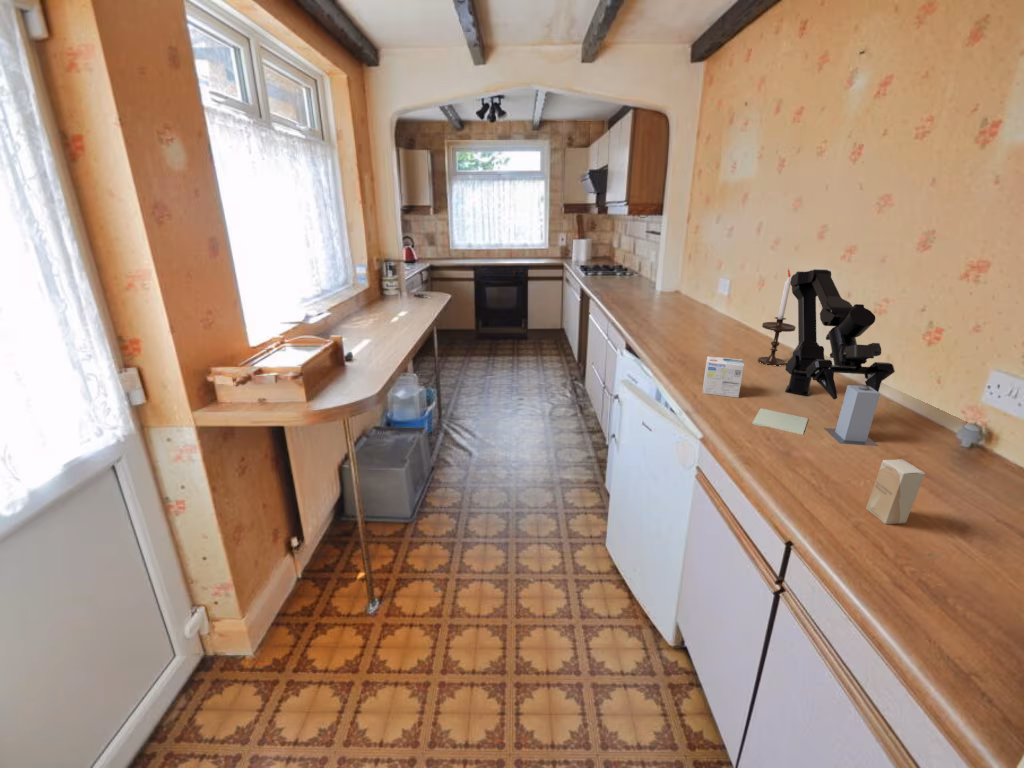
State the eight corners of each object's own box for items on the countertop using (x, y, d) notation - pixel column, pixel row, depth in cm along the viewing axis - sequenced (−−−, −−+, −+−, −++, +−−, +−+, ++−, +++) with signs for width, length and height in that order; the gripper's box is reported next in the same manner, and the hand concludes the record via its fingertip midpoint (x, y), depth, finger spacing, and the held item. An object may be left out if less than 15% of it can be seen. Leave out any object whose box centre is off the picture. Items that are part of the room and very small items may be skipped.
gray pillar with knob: (835, 431, 126) (848, 382, 122) (855, 433, 126) (870, 383, 121) (844, 440, 122) (858, 389, 117) (866, 441, 121) (881, 390, 116)
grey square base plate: (822, 429, 129) (826, 417, 128) (859, 431, 128) (863, 419, 126) (839, 444, 120) (842, 432, 119) (878, 447, 119) (882, 435, 118)
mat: (760, 410, 140) (760, 408, 140) (807, 420, 134) (808, 418, 134) (752, 424, 131) (752, 422, 131) (802, 436, 125) (803, 433, 124)
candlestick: (751, 362, 183) (770, 268, 171) (760, 356, 191) (778, 265, 179) (783, 368, 177) (804, 271, 164) (790, 362, 184) (811, 268, 172)
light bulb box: (737, 391, 155) (743, 358, 151) (739, 398, 149) (745, 365, 145) (701, 386, 158) (706, 355, 154) (702, 393, 152) (707, 361, 148)
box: (864, 508, 95) (880, 458, 91) (885, 507, 95) (901, 458, 91) (886, 525, 90) (904, 473, 86) (908, 524, 90) (926, 472, 86)
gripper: (821, 328, 123) (831, 384, 117) (901, 332, 121) (916, 388, 114) (801, 350, 133) (809, 402, 127) (875, 353, 131) (887, 407, 124)
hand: (854, 400), depth 123 cm, fingers open, 9 cm apart
